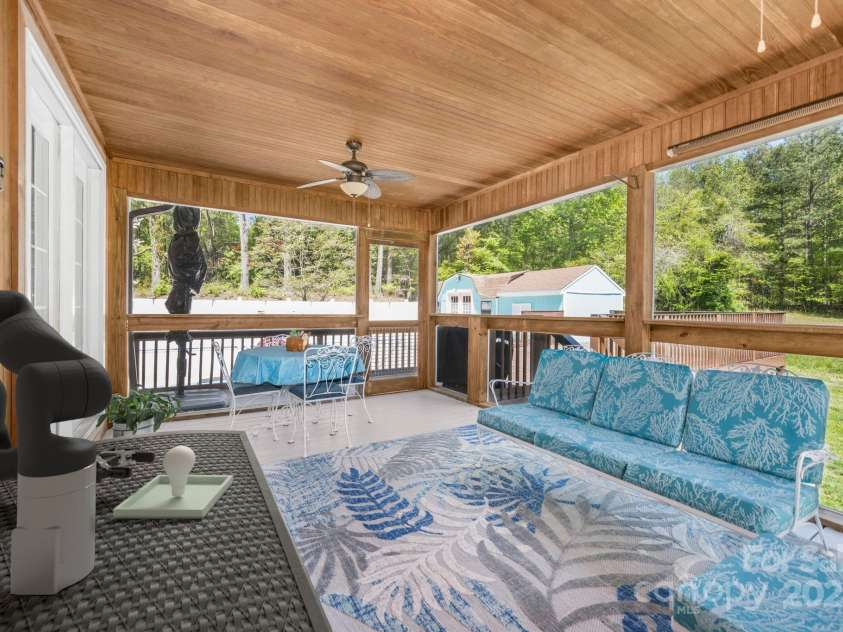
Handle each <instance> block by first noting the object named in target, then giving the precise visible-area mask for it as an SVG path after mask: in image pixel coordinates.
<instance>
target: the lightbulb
mask: <svg viewBox="0 0 843 632" xmlns="http://www.w3.org/2000/svg"><path fill="white" fill-rule="evenodd" d="M162 459H163V460H162V466H163V469H164V472H165V473H166V475H168V476H169V478H170V486H171V488H172V489H171V490H172V496H175V497H177V498H178V497H181V496H182V495H183V494H184V493H185V487H186V484H187V478H188V475H190V472H191V471H192V469H193V467H194V465H195V463H196V454H195V451H193V449H191V448H190V447H188V446H186V445H177V446H175V447H172V448H171V449H169V450H168V451H167V452H166V453H165V454H164V456H163V458H162Z"/></svg>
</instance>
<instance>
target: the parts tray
mask: <svg viewBox="0 0 843 632" xmlns="http://www.w3.org/2000/svg"><path fill="white" fill-rule="evenodd" d="M233 483H234V475H233V474H231V475H227V474H222V475H220V474H218V475H217V474H214V475H213V474H189V475H188V478H187V484H186V487H185V493H184V494H183V495H182V496H181V497H178V498H177V497H175V496H172V490H171V489H172V488H171V486H170V478H169V476H168V474H158V475H156V477H154V478H152V479H151V480H150V481H148V482H147V483H146V484H144V485H143V486H141V488H140V489H138V490H137V491H135V492H134V493H133V494H132V495H130V496H129V497H127V498H126V499H124V501H123V502H121V503H120V504H118V505H117V506H115V507H114V508H113V510H112V513H113V514H112V518H113V519H148V520H149V519H151V520H152V519H153V520H154V519H159V520H160V519H166V520H167V519H168V520H169V519H171V520H172V519H175V520H177V519H179V520H181V519H182V520H183V519H185V520H186V519H187V520H189V519H190V520H192V519H193V520H194V519H195V520H196V519H197V520H198V519H201V520H203V519H204V518H205V516H206V515H207V514H208V513H209V512H210V510H211V509H212V508H213V507H214V506H215V505H216V503H217V502H218V501H219V500H220V499H221V498H222V497H223V495H224V494H225V493H226V491H228V489H230V487H231V486H232V485H233Z"/></svg>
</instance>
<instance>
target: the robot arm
mask: <svg viewBox="0 0 843 632" xmlns="http://www.w3.org/2000/svg"><path fill="white" fill-rule="evenodd" d="M0 365H1V366H2V367H3V368H5V369H6V370H7V371H9V372H11V373H13V374H15V375H17V376H16V380H15V384H14V385H15V386H14V387H15V388H14V397H15V398H14V402H15V403H14V404H15V414H16V432H17V434H16V435H17V436H16V437H17V438H16V441H17V442H16V444H17V445H16V446H14V445H13V442H12V440H11V435H10V433H9V429H8V426H7V424H6V419H7V404H8V393H7V389H6V386H5V384H4V383H3V381H2V380H1V379H0V483H1V482H6V481H17V495H16V496H17V500H16V504H17V506H16V508H17V509H16V527H15V528H14V529H12V531H11V536H10V538H11V541H10V542H11V543H10V547H11V548H10V595H11V594H15V595H14V596H34V595H36V596H37V595H38V596H40V595H46V596H47V595H48V596H49V595H50V596H51V595H57V594H58V593H59V592H60V591H61V590H63V589H66V588H68V587H69V586H72V585H75V584H76V583H78V582H80V581H81V580H83V579H84V578H86V577H87V576H88V575H90V573H91V572H92V571H93V570H94V568H95V551H96V550H95V547H96V546H95V545H96V543H95V542H96V502H97V501H96V492H97V491H96V490H97V489H96V488H97V484H101V483H102V480H105V481H107V480H108V481H109V480H110V479H129V478H131V477H132V476H133V467H132V466H131V465H127V464H132V463H153V462H155V459H156V452H155V451H143V450H140V448H141V447H140V446H113V447H110V451H109V450H105V451H100V452H98V449H97V446H96V445H97V444H96V443H95V442H94V441H93V440H90V439H87V438H83V437H82V438H81V437H71V436H64V435H63V436H62V435H59V434H56V433H53V432H52V430H51V425H52V424H58V423H61V422H62V423H63V422H68V421H69V422H70V421H74V420H81V419H86V418H91V417H93V416H94V417H95V416H97V415H99V414H101V413H103V412H104V411H105V410H106V409H107V408H108V407H109V405H110V403H111V402H112V398H113V393H114V392H113V383H112V380H111V377H110V375H109V373H108V370H107V369H106V368H105V367H104V366H103V364H102V363H101V362H99V361H98V359H95V358H94V357H92V356H90V355H88V354H86V353H85V352H83V351H81V350H80V349H78V348H76V347H75V346H74V345H72V344H71V343H70V342H69V341H68V340H66V339H65V338H64V337H63V336H62V334H60V333H59V332H58V331H57V330H56V329H55V328H54V327H53V326H52V325H50V324H49V323H48V322H47V321H46V320H45V319H43V318H42V316H41V315H40V314H39V313H38V312H37V309H36V308H35V307H34V306H33V304H32V302H31V301H30V300H29V298H28V297H27V296H26V295H25V294H23V293H22V292H19V291H16V290H9V289H7V290H5V289H4V290H3V289H0ZM13 446H14V447H13ZM119 460H120V461H119Z"/></svg>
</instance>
